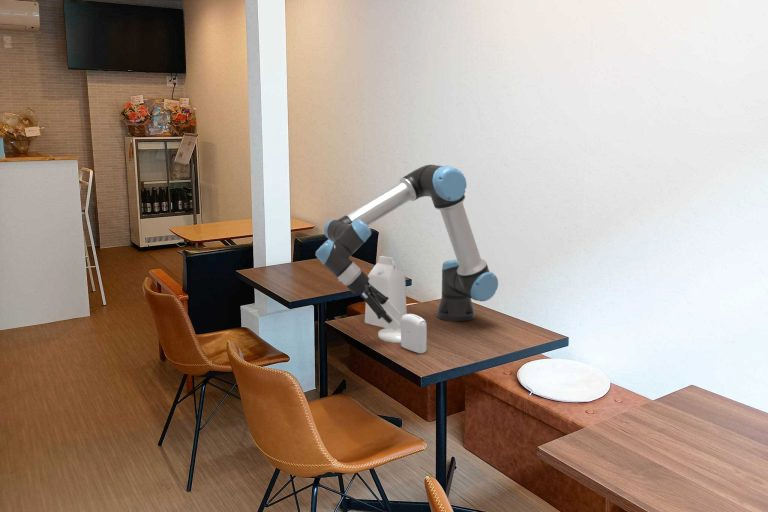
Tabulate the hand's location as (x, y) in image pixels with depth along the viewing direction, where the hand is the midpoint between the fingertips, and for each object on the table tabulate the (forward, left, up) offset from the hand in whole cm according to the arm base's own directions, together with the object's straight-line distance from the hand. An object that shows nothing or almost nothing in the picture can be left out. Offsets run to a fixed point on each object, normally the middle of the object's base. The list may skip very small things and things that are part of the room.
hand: (398, 322), depth 223 cm
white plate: (0, -15, -10) cm, 18 cm away
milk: (+5, -32, -10) cm, 34 cm away
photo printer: (-5, -1, -10) cm, 12 cm away
